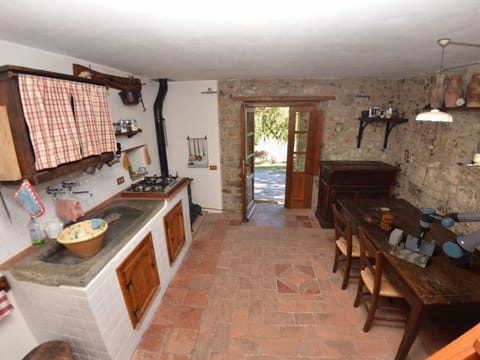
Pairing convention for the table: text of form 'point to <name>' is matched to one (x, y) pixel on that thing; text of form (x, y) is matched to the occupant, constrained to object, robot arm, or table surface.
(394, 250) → the jig board
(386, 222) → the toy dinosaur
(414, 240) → the notched blue block
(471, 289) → the table surface
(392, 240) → the wing bar
